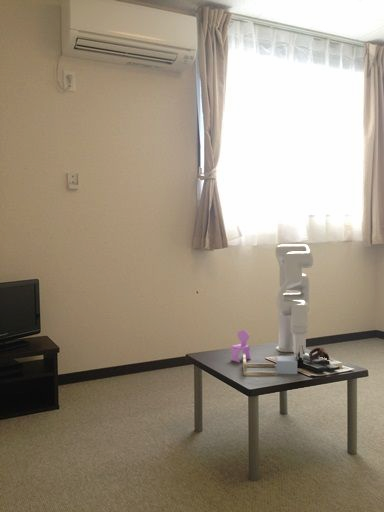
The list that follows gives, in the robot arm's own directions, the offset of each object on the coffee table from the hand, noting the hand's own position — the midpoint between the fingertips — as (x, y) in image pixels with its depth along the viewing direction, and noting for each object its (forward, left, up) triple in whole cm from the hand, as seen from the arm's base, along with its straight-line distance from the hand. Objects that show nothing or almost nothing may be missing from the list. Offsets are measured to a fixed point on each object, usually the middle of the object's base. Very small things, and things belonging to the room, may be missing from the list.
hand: (299, 367), depth 224 cm
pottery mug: (-17, +12, -2) cm, 21 cm away
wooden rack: (0, -18, -2) cm, 18 cm away
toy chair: (-19, -27, -2) cm, 33 cm away
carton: (0, -6, -2) cm, 6 cm away
